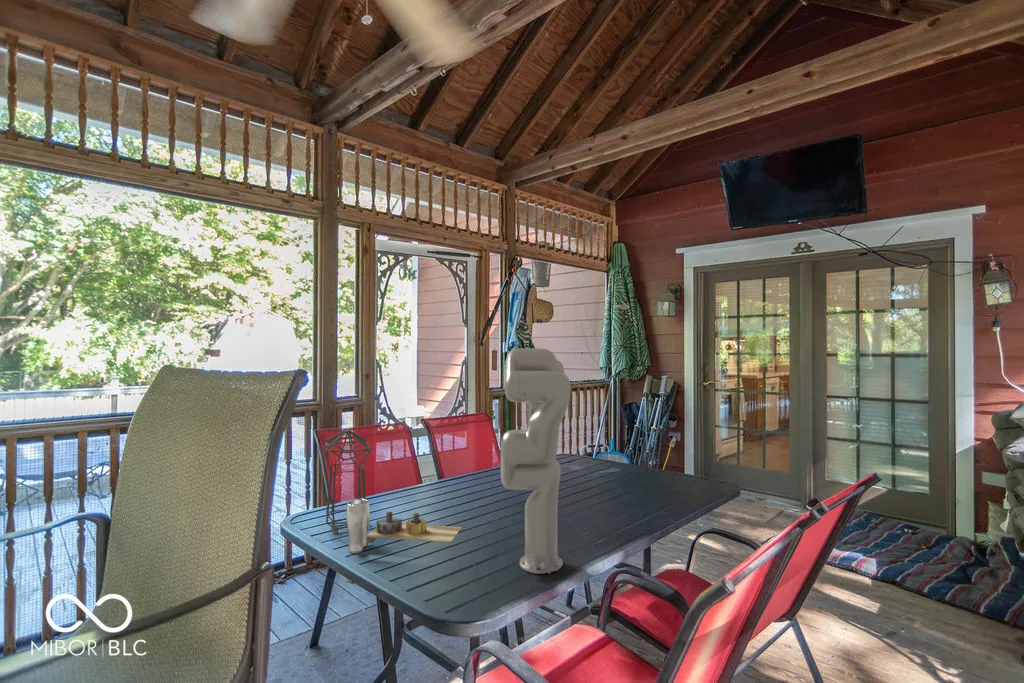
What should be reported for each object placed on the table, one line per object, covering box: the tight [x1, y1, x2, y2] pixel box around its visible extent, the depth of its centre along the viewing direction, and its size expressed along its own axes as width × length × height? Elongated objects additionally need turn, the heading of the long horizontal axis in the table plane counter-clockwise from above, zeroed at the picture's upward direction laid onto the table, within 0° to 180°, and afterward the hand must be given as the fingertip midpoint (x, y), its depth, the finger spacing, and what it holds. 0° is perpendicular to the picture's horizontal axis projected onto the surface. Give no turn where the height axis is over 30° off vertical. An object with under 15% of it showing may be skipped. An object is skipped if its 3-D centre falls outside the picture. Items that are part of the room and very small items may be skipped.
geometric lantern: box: [322, 429, 373, 535], centre depth 180 cm, size 16×16×35 cm
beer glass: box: [346, 498, 371, 555], centre depth 162 cm, size 7×7×15 cm
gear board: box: [367, 511, 462, 543], centre depth 174 cm, size 14×29×8 cm, turn 81°
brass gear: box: [405, 518, 427, 536], centre depth 174 cm, size 7×7×4 cm
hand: (536, 448), depth 182 cm, fingers open, 9 cm apart
